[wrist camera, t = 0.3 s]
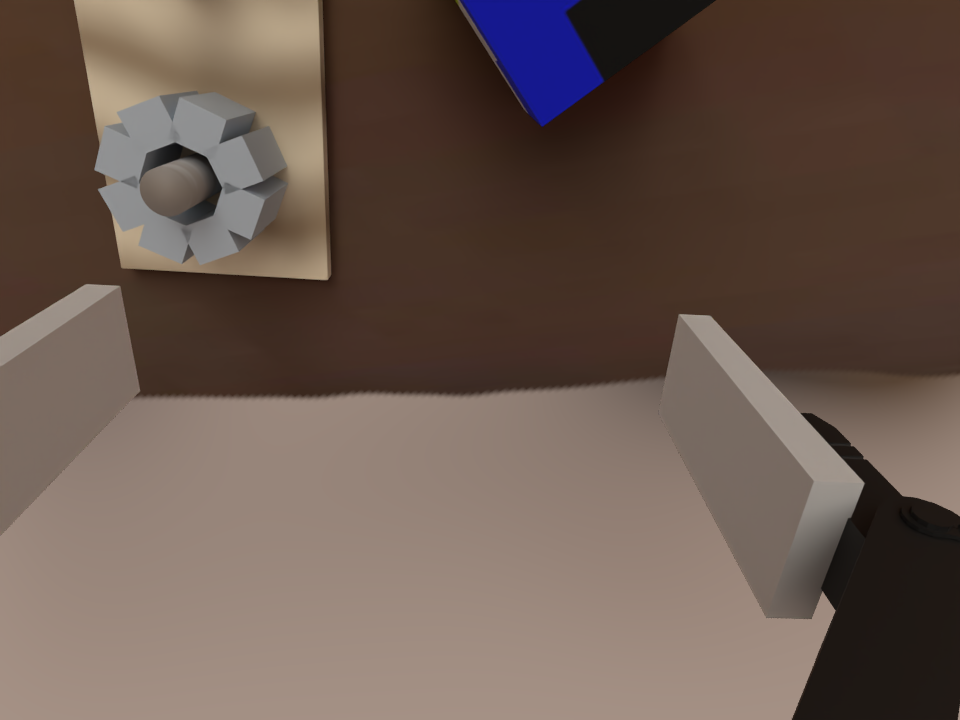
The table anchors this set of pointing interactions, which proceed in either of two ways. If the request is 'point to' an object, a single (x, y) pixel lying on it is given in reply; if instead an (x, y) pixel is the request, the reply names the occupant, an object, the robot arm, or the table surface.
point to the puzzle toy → (569, 43)
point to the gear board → (239, 77)
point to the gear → (232, 154)
